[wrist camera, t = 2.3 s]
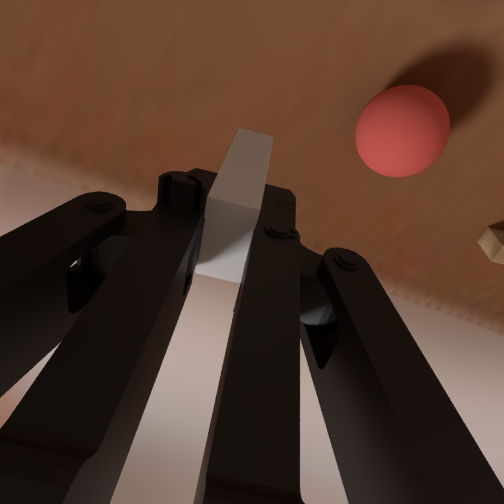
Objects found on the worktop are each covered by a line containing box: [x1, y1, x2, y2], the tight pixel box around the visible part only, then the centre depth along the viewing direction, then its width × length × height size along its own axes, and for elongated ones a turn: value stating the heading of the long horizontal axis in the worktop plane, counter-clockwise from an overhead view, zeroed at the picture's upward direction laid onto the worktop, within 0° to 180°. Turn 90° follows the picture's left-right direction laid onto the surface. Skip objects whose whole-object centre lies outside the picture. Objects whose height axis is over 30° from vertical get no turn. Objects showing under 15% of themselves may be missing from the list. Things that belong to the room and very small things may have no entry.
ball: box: [355, 85, 450, 177], centre depth 25 cm, size 6×6×6 cm
